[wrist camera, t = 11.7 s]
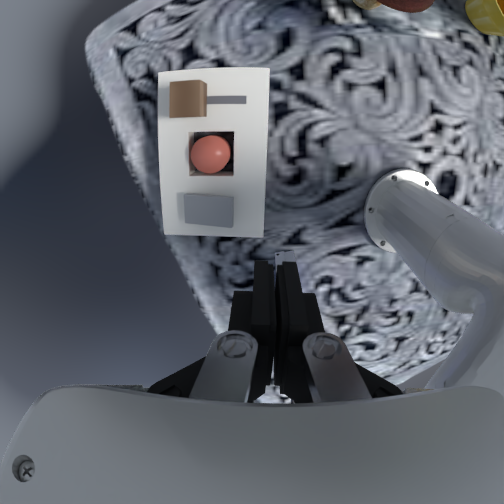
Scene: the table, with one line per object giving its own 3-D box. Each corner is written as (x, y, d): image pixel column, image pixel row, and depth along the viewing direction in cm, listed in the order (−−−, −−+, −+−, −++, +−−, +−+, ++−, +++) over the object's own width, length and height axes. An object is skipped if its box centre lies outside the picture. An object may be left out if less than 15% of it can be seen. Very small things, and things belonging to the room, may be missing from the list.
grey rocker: (233, 196, 33) (231, 198, 32) (233, 225, 35) (231, 228, 34) (186, 193, 34) (183, 194, 33) (187, 220, 36) (185, 223, 35)
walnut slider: (207, 83, 29) (200, 79, 25) (206, 116, 30) (199, 116, 27) (180, 85, 29) (169, 81, 25) (179, 117, 30) (169, 118, 27)
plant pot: (503, 53, 24) (541, 51, 15) (461, 32, 24) (500, 23, 15) (494, 4, 19) (528, -4, 10) (451, -18, 19) (484, -34, 11)
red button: (231, 134, 33) (228, 136, 31) (231, 169, 35) (228, 173, 33) (196, 135, 33) (190, 136, 31) (196, 169, 35) (191, 173, 33)
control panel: (268, 72, 30) (269, 66, 27) (263, 229, 40) (263, 240, 36) (166, 75, 31) (155, 71, 27) (170, 226, 40) (162, 237, 37)
